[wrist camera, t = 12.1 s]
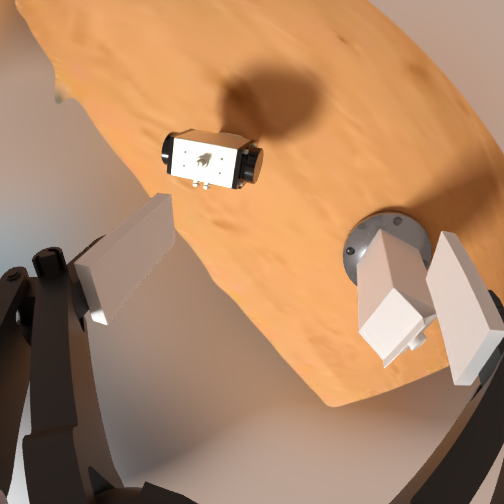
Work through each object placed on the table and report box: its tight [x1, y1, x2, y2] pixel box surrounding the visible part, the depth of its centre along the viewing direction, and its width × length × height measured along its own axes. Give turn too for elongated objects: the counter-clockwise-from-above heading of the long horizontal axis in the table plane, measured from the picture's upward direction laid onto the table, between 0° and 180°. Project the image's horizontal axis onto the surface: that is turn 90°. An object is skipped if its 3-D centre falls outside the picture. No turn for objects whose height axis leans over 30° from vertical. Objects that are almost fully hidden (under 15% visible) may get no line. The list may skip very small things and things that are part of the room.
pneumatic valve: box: [162, 129, 263, 189], centre depth 40 cm, size 6×12×12 cm, turn 80°
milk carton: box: [357, 229, 437, 368], centre depth 37 cm, size 7×7×19 cm
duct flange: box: [343, 211, 432, 286], centre depth 46 cm, size 14×14×1 cm
